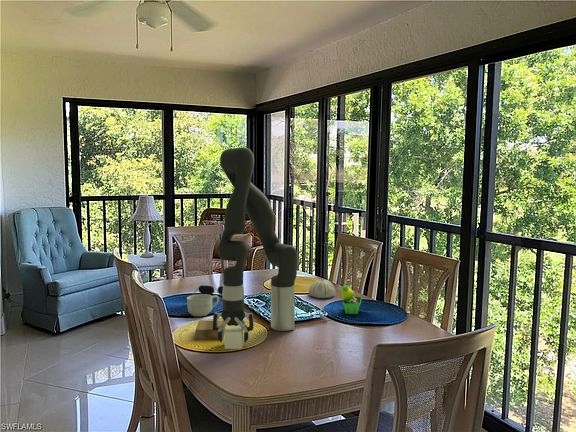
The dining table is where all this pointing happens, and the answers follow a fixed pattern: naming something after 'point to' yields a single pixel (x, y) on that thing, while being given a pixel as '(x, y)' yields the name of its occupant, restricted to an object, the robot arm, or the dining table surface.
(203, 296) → the teacup
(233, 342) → the cream cube
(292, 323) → the robot arm
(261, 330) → the dining table surface
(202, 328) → the walnut base
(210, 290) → the sunglasses
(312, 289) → the sea urchin shell
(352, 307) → the fruit basket
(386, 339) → the dining table surface
